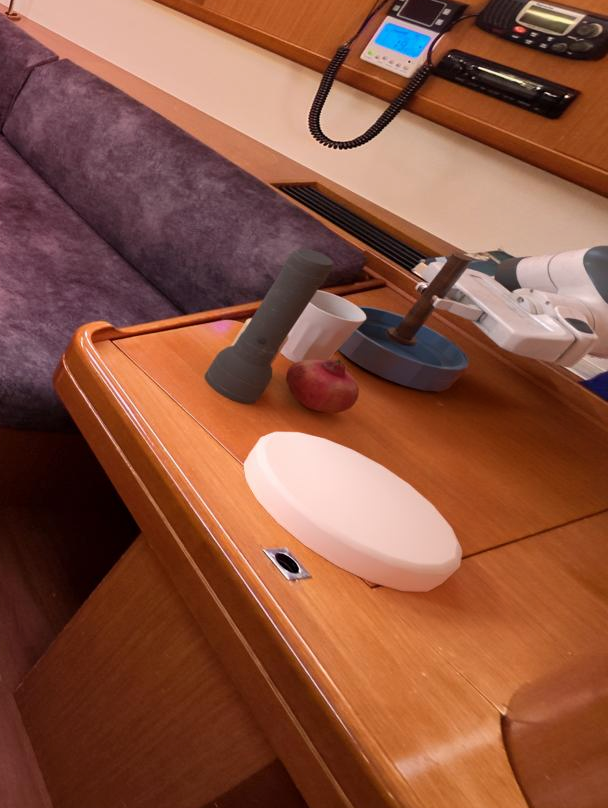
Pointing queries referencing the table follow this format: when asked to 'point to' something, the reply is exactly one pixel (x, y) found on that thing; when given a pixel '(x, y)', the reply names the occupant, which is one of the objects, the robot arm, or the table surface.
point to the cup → (322, 328)
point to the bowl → (404, 353)
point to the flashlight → (268, 328)
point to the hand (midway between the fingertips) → (426, 294)
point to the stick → (423, 306)
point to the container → (352, 511)
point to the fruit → (322, 385)
